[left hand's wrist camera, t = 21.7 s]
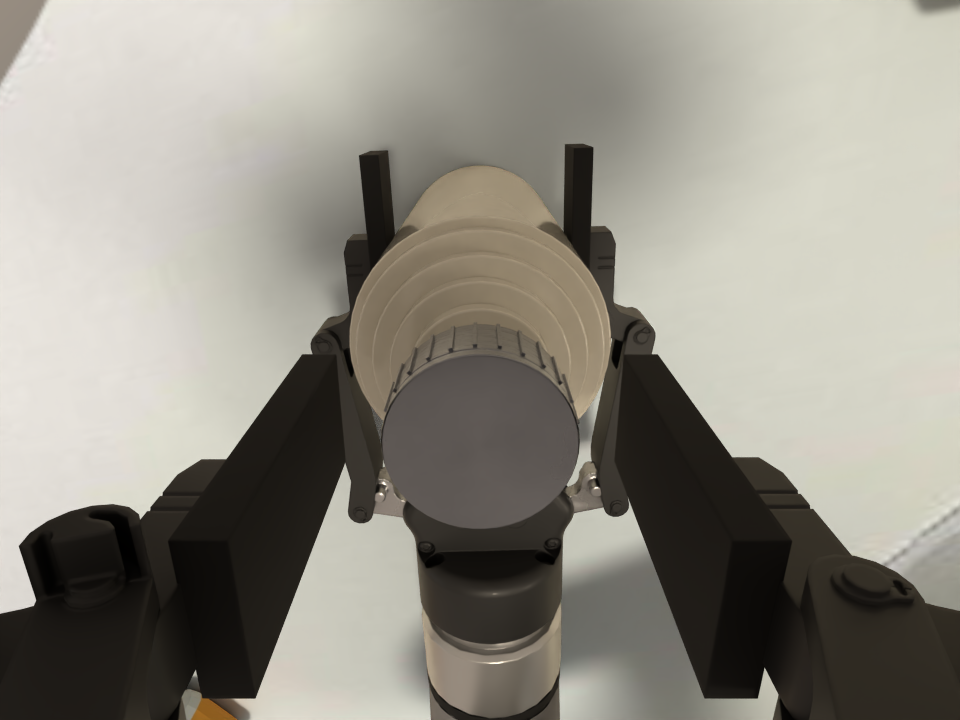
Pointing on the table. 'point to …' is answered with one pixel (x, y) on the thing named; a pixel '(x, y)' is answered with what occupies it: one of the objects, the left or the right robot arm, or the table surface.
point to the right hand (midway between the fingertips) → (476, 150)
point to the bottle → (480, 283)
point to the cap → (480, 427)
